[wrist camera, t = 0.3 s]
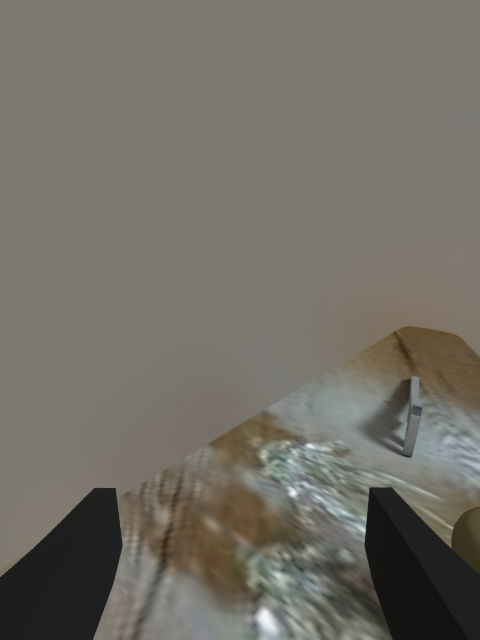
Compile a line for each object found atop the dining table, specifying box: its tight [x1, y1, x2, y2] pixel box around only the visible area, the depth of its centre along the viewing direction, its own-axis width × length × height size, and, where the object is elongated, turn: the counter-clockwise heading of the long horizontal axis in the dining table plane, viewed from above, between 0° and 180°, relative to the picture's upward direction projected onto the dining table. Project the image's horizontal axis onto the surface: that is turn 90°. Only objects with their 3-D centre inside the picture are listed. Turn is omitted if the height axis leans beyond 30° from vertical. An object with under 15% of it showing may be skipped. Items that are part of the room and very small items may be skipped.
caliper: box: [402, 376, 423, 457], centre depth 57 cm, size 20×1×6 cm, turn 157°
